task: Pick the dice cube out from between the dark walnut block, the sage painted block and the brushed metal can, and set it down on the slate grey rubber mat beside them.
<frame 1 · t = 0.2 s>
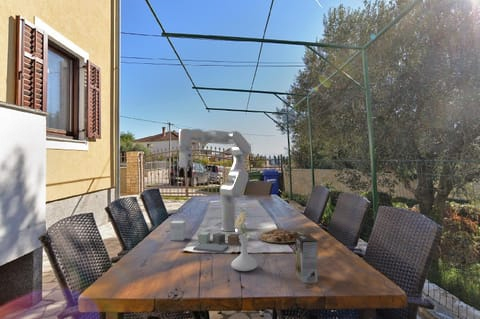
hand: (185, 177, 170), 37 cm above the table, tool pointing down, fingers open, 9 cm apart
dice cube: (218, 243, 160), on the table
small box: (178, 239, 167), on the table
flower in vase: (244, 269, 120), on the table
sage block: (204, 241, 162), on the table
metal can: (239, 238, 168), on the table
rice dish: (281, 239, 168), on the table
walnut block: (233, 244, 157), on the table
slate mat: (210, 248, 149), on the table
coffee box: (306, 278, 110), on the table
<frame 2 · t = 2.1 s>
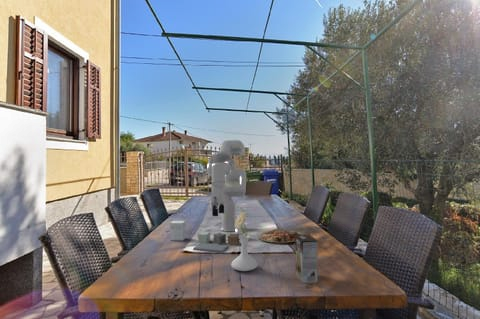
hand: (218, 214, 160), 16 cm above the table, tool pointing down, fingers open, 9 cm apart
nothing on the table moved.
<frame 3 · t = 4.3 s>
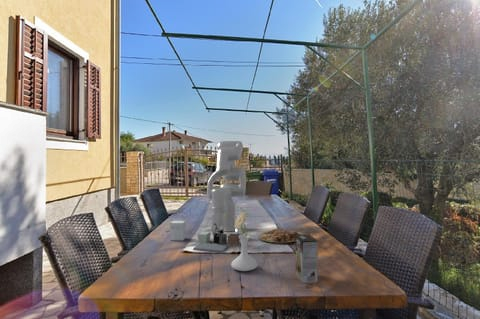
hand: (218, 241, 160), 1 cm above the table, tool pointing down, fingers open, 6 cm apart
dice cube: (220, 243, 159), on the table, touching gripper
everything else where it was.
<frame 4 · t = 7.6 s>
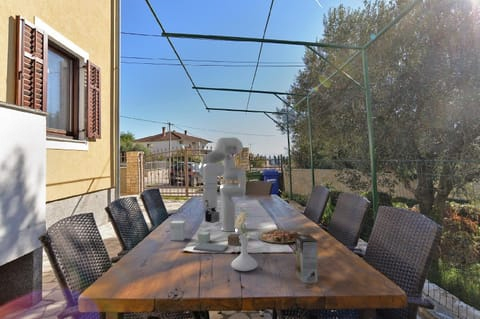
hand: (210, 220, 149), 15 cm above the table, tool pointing down, fingers closed on dice cube, 6 cm apart
dice cube: (212, 222, 148), point 14 cm above the table, touching gripper
everything else where it was.
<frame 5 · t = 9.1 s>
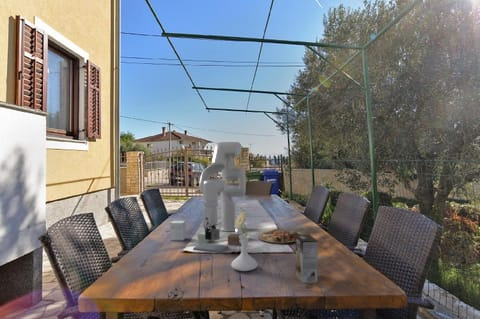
hand: (210, 237, 149), 6 cm above the table, tool pointing down, fingers closed on dice cube, 6 cm apart
dice cube: (212, 239, 148), point 5 cm above the table, touching gripper
everything else where it was.
when the fingers open (3 cm above the table, at t = 10.5 s): dice cube drops 2 cm, resting on slate mat.
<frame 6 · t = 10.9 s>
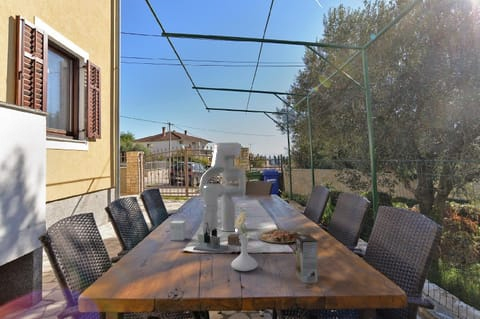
hand: (210, 240, 149), 4 cm above the table, tool pointing down, fingers open, 9 cm apart
dice cube: (213, 247, 149), point 1 cm above the table, touching slate mat
everything else where it was.
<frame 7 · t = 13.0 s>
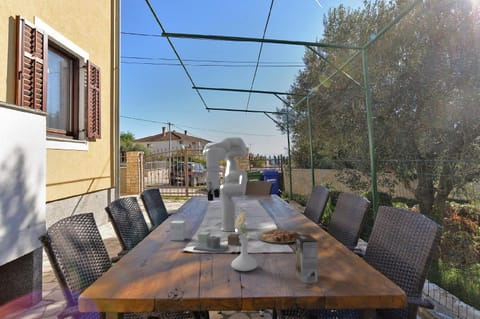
hand: (213, 199, 162), 24 cm above the table, tool pointing down, fingers open, 9 cm apart
nothing on the table moved.
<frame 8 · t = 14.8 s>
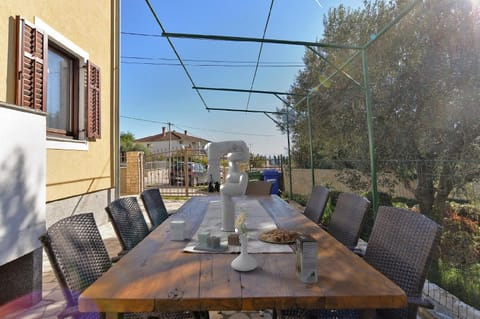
hand: (214, 191, 167), 28 cm above the table, tool pointing down, fingers open, 9 cm apart
nothing on the table moved.
at the end: dice cube inside the target area on the slate mat (1.6 cm from its centre), point 0.8 cm above the slate mat's base; the gripper is holding nothing; walnut block moved 0.2 cm from its start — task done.
